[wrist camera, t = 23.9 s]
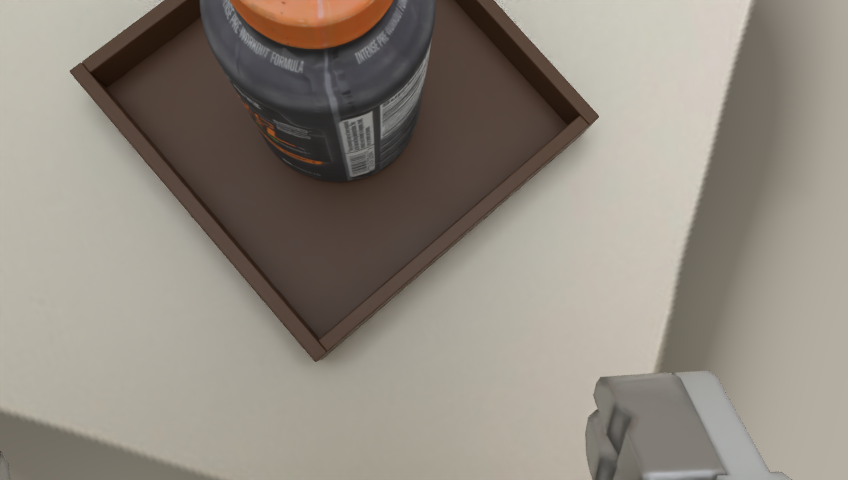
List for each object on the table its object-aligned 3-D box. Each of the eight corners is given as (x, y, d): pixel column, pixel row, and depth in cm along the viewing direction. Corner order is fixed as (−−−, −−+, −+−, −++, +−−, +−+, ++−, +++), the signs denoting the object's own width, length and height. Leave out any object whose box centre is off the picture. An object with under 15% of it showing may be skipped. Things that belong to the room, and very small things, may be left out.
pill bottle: (225, 83, 25) (103, -115, 14) (360, 1, 26) (345, -249, 15) (316, 217, 25) (263, 119, 14) (451, 128, 26) (504, -32, 15)
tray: (320, 360, 25) (315, 362, 23) (92, 91, 26) (68, 70, 24) (583, 132, 27) (600, 115, 25) (362, -112, 27) (360, -147, 25)
